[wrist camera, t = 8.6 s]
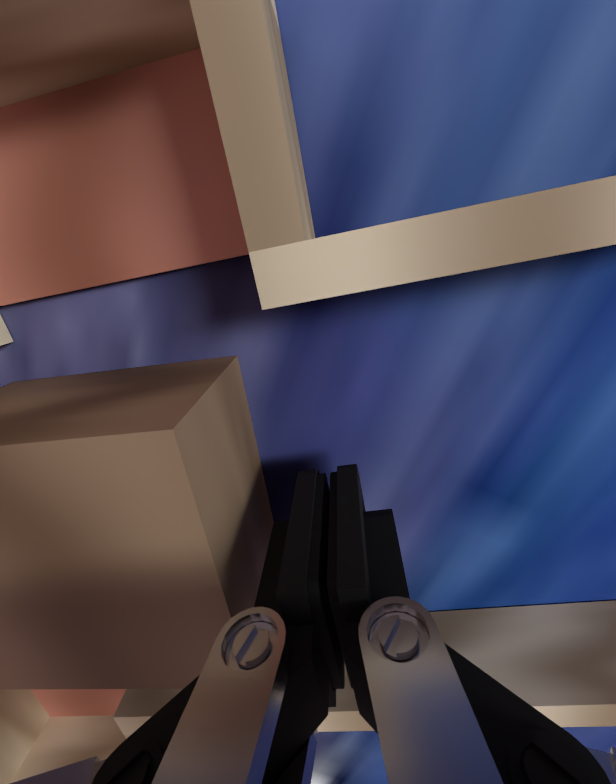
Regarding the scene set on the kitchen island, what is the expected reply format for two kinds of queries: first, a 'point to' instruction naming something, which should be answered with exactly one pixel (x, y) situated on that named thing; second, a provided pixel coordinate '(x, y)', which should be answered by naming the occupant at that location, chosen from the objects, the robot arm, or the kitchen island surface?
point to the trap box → (270, 267)
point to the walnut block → (126, 524)
